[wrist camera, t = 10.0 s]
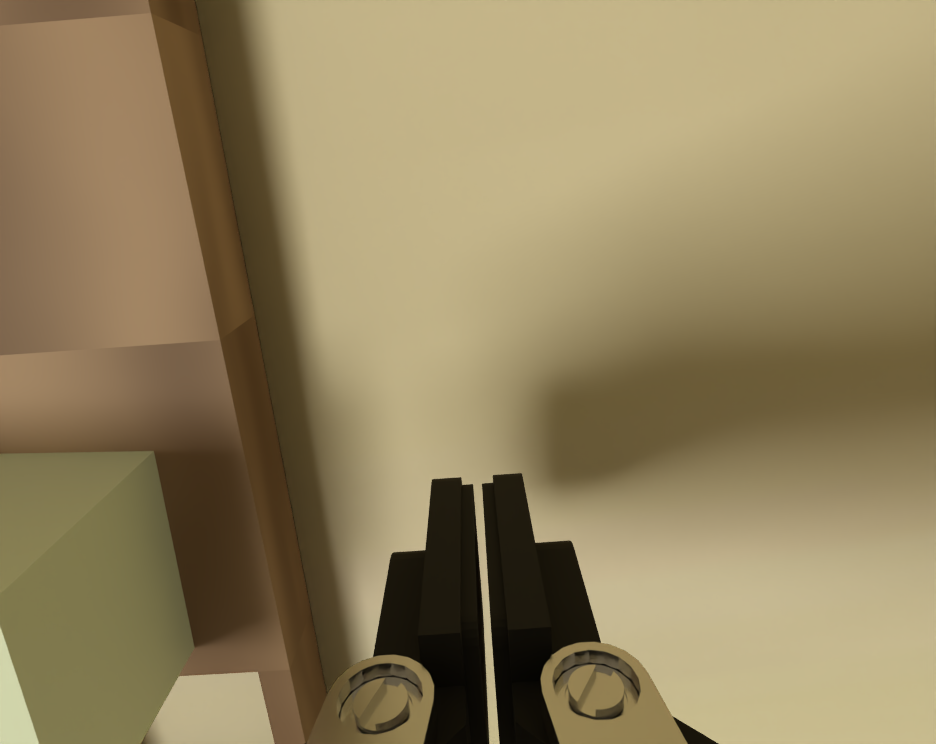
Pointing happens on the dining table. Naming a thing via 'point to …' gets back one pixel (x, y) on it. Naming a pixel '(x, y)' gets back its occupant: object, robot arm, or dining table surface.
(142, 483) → the block
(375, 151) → the dining table surface
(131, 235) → the board with square holes
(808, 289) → the dining table surface
